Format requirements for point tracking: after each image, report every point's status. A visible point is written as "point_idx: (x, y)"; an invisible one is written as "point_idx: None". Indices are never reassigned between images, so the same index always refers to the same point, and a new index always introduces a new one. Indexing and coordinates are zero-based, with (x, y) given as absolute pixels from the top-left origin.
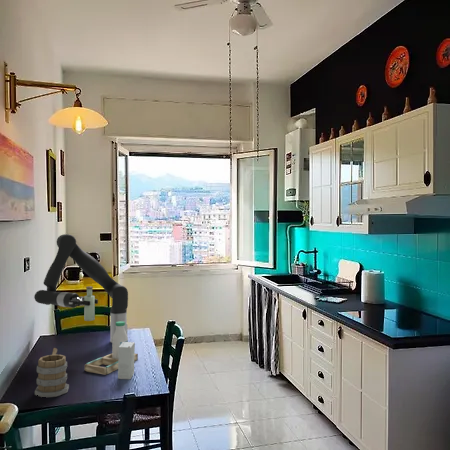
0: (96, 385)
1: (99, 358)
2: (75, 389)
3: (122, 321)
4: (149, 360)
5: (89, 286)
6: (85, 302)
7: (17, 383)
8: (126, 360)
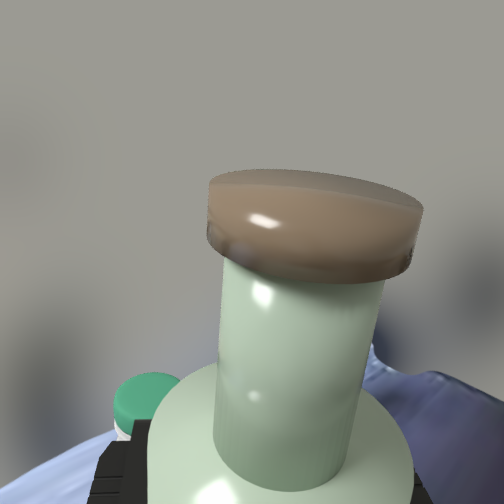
0: (442, 465)
1: None
2: None
3: (125, 391)
4: (89, 466)
5: (254, 203)
6: (418, 483)
7: None
8: None
